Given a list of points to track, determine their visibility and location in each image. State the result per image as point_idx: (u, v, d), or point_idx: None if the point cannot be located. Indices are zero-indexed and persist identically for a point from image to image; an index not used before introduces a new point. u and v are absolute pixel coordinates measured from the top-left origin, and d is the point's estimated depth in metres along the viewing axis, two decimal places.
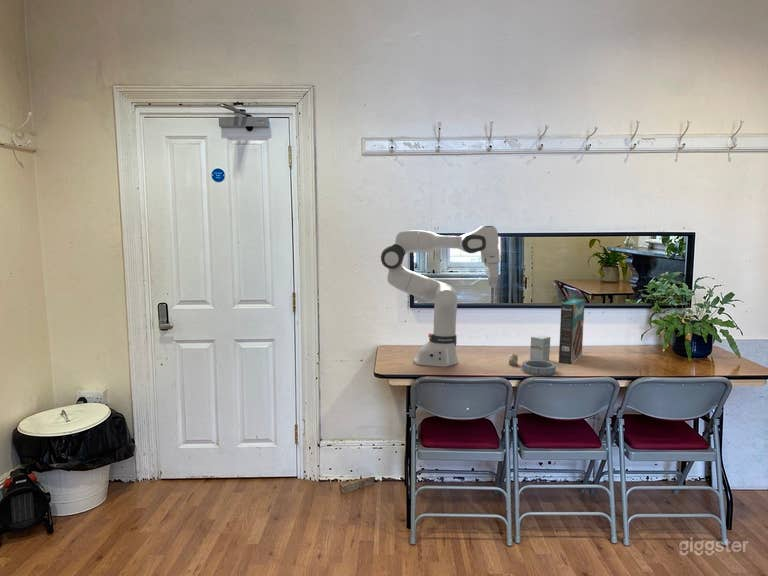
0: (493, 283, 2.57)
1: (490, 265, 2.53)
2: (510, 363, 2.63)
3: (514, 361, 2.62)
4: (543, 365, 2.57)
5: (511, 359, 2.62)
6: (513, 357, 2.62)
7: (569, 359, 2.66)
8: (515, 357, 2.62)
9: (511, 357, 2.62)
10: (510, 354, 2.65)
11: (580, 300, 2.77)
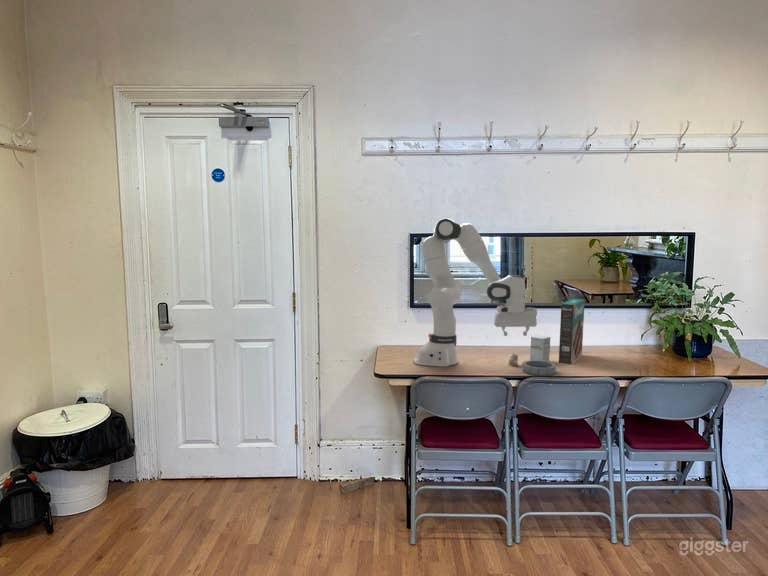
0: (503, 331, 2.62)
1: (496, 312, 2.63)
2: (510, 363, 2.63)
3: (514, 361, 2.62)
4: (543, 365, 2.57)
5: (511, 359, 2.62)
6: (513, 357, 2.62)
7: (569, 359, 2.66)
8: (515, 357, 2.62)
9: (511, 357, 2.62)
10: (510, 354, 2.65)
11: (580, 300, 2.77)
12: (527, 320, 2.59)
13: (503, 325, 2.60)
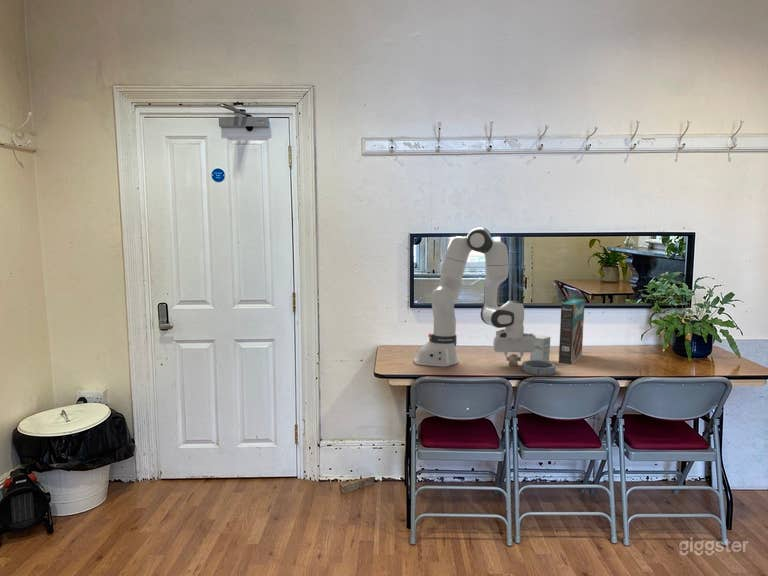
0: None
1: (495, 337, 2.65)
2: (510, 363, 2.63)
3: (514, 361, 2.62)
4: (543, 365, 2.57)
5: (511, 359, 2.62)
6: (513, 357, 2.62)
7: (569, 359, 2.66)
8: (515, 357, 2.62)
9: (511, 357, 2.62)
10: (510, 354, 2.65)
11: (580, 300, 2.77)
12: (525, 346, 2.61)
13: (501, 350, 2.62)
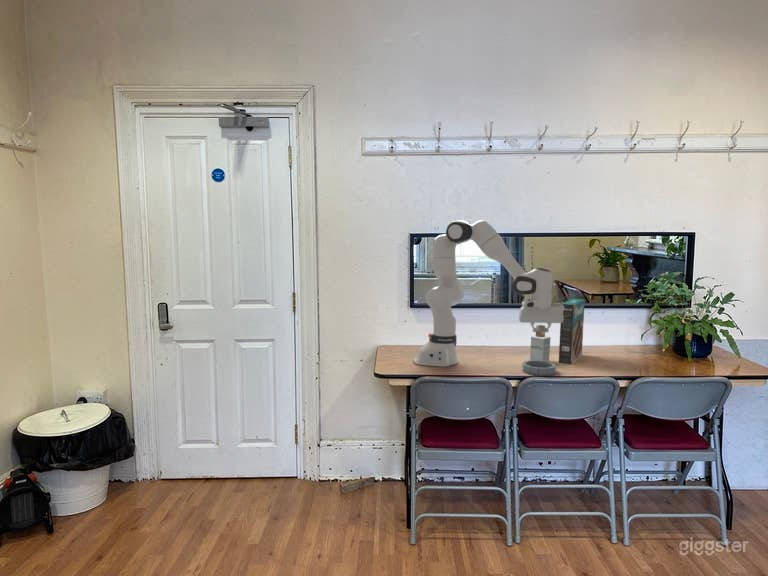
0: (532, 327, 2.50)
1: (521, 307, 2.51)
2: (537, 334, 2.49)
3: (541, 332, 2.48)
4: (543, 365, 2.57)
5: (538, 330, 2.49)
6: (540, 328, 2.48)
7: (569, 359, 2.66)
8: (542, 328, 2.48)
9: (538, 328, 2.49)
10: (537, 325, 2.51)
11: (580, 300, 2.77)
12: (553, 316, 2.47)
13: (528, 321, 2.48)
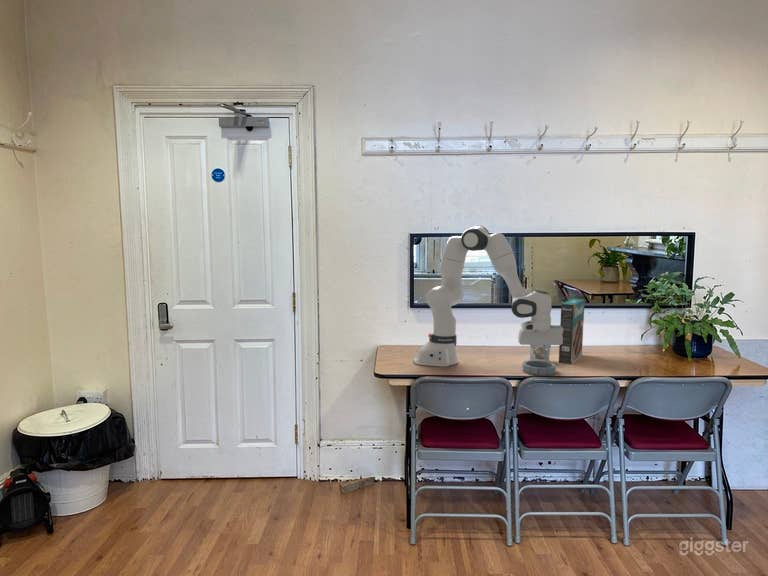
0: None
1: (520, 329, 2.52)
2: (537, 356, 2.51)
3: (540, 354, 2.49)
4: (543, 365, 2.57)
5: (538, 352, 2.50)
6: (540, 350, 2.49)
7: (569, 359, 2.66)
8: (542, 350, 2.49)
9: (538, 350, 2.50)
10: (536, 347, 2.52)
11: (580, 300, 2.77)
12: (552, 338, 2.49)
13: (528, 343, 2.50)
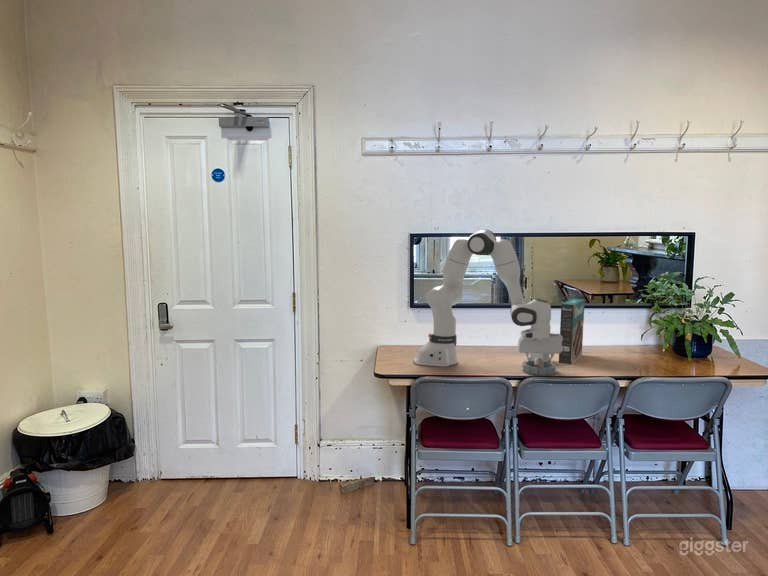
0: None
1: (520, 337, 2.53)
2: None
3: (539, 365, 2.50)
4: None
5: (537, 363, 2.51)
6: (539, 361, 2.50)
7: (569, 359, 2.66)
8: (541, 361, 2.50)
9: (537, 361, 2.51)
10: (535, 358, 2.53)
11: (580, 300, 2.77)
12: (552, 347, 2.49)
13: (527, 351, 2.50)
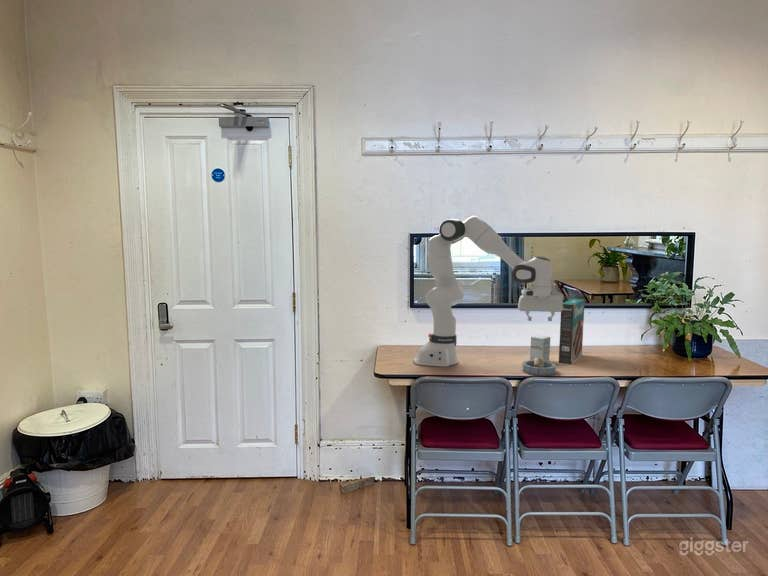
0: (527, 315, 2.51)
1: (520, 296, 2.51)
2: None
3: (539, 365, 2.50)
4: None
5: (537, 363, 2.51)
6: (539, 361, 2.50)
7: (569, 359, 2.66)
8: (541, 361, 2.50)
9: (537, 361, 2.51)
10: (535, 358, 2.53)
11: (580, 300, 2.77)
12: (552, 305, 2.48)
13: (527, 309, 2.49)
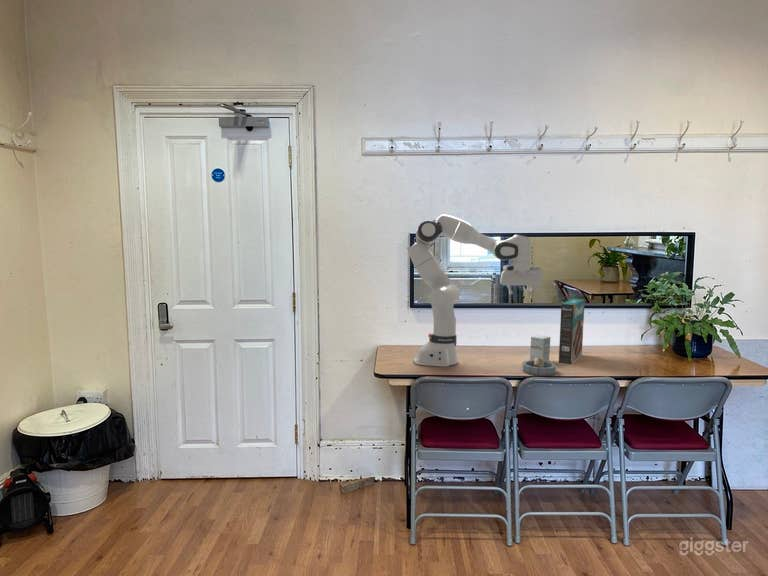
0: (508, 289, 2.69)
1: (502, 271, 2.69)
2: None
3: (539, 365, 2.50)
4: None
5: (537, 363, 2.51)
6: (539, 361, 2.50)
7: (569, 359, 2.66)
8: (541, 361, 2.50)
9: (537, 361, 2.51)
10: (535, 358, 2.53)
11: (580, 300, 2.77)
12: (532, 279, 2.66)
13: (509, 283, 2.67)
